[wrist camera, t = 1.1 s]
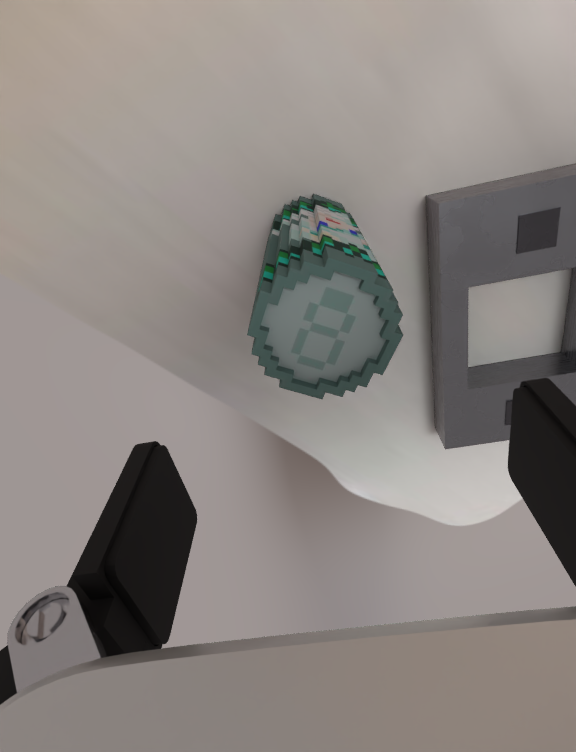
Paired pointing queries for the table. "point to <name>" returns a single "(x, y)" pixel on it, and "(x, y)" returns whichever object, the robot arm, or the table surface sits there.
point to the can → (322, 303)
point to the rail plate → (488, 265)
